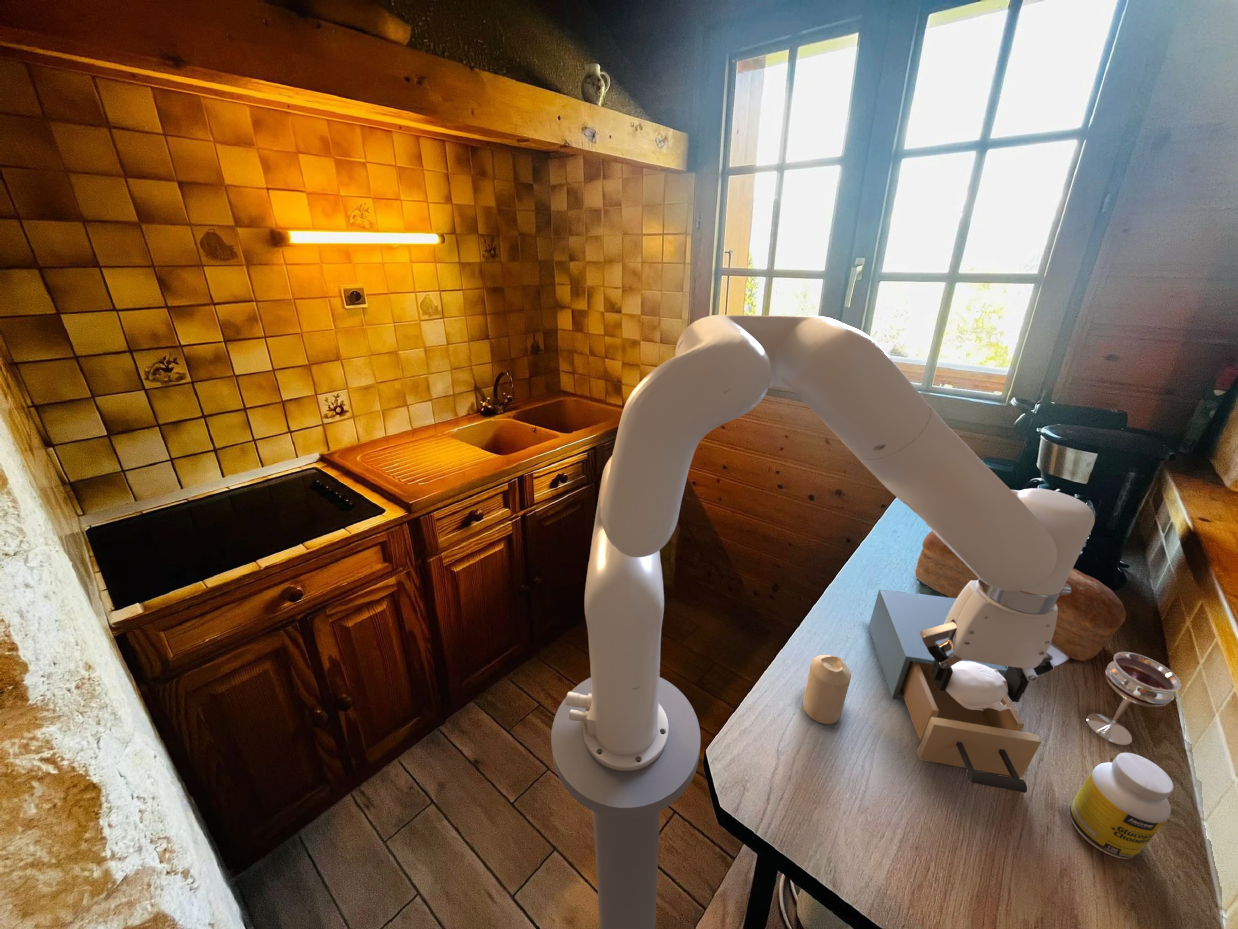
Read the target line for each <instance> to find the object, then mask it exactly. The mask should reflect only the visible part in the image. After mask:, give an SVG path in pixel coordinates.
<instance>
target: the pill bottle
mask: <svg viewBox="0 0 1238 929" xmlns="http://www.w3.org/2000/svg"><path fill="white" fill-rule="evenodd" d="M1174 788H1175V787H1174V783H1173V781H1172V779H1171V777H1170V776H1169V775H1168V773H1166V771H1165V770H1164V769H1162V768H1161V767H1160V766H1159V765H1157V764H1156V763H1154V762H1153V761H1151V760H1149V759H1147V758H1145V757H1143V756H1141V755H1139V754H1135V753H1133V752H1132V753H1131V752H1121V753H1118V754H1117V756H1116V757H1115V758H1114V759H1113V760H1112V761H1109V762H1103V763H1099V764H1098V765H1096V766H1095V767H1094V768H1093V770H1092V771H1091V772H1090V774H1089V775H1088V777H1087V778H1086V780H1085V782H1084V783H1083V784H1082V786H1081V788H1080V789H1079V791H1078V792H1077V794H1076V795H1075V797H1074V799H1073V800H1072V802H1071V803H1070V805H1069V809H1068V813H1069V818H1070V820H1071V823H1072V825H1073V826H1074V828H1075V829H1076V830H1077V832H1078V833H1079V834H1080V835H1081V836H1082V838H1084V839H1085V840H1086V841H1087V842H1088V843H1089V844H1091V845H1092V846H1093V847H1094V848H1096V849H1098V850H1099V851H1101V852H1103V853H1105V854H1107V855H1109V856H1112V857H1114V858H1117V859H1124V860H1127V859H1129V860H1130V859H1133V858H1136V857H1137V856H1138V855H1139V854H1140V853H1141V852H1142V850H1143V849H1144V848H1145V847H1146V846H1147V844H1148V843H1150V841H1151V840H1152V838H1153V837H1154V836H1155V835H1156V834H1157V832H1158V831H1159V830H1160V829H1161V827H1162V826H1163V825H1165V823H1166V822H1167V820H1168V819H1169V818H1170V816H1171V811H1172V810H1171V809H1172V808H1171V805H1170V804H1171V803H1170V802H1169V799H1168V798H1170V796H1171V794H1172V793H1173V791H1174Z"/></svg>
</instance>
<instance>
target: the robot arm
mask: <svg viewBox="0 0 1238 929" xmlns="http://www.w3.org/2000/svg"><path fill="white" fill-rule="evenodd" d="M785 388H787V389H789V388H790V389H791V390H792V391H793V392H794V393H795V394H796V395H797V396H798V397H799V398H800V399H801V400H802V401H803V403H805V405H806V406H807V407H808V408H809V409H810V410H811V411H812V412H813V413H814V414H815V415H816V416H817V417H818V418H819V420H820V421H821V422H823V423H824V425H825V426H826V427H827V428H828V429H829V430H830V431H831V432H832V433H833V434H834V435H835V436H836V437H837V439H839V440H840V441H841V443H843V445H844V446H845V447H846V448H847V449H848V450H849V451H850V452H851V453H852V454H853V455H854V456H855V457H856V458H857V459H858V460H859V461H860V462H861V464H862V465H863V466H864V467H865V468H866V469H867V470H868V471H869V472H870V473H871V474H872V475H873V477H875V478H876V479H877V480H878V481H879V483H881V485H883V486H884V487H885V489H887V491H889V492H890V493H891V494H892V495H894V497H896V498H897V499H898V500H899V501H901V502H902V503H903V504H904V505H905V506H907V507H908V509H910V510H912V512H913V513H915V514H916V515H917V516H919V518H920V519H922V520H923V522H925V524H926V525H927V527H928V528H929V529H930V530H931V531H932V532H933V533H934V534H935V535H936V536H937V537H938V538H939V539H940V540H941V541H942V542H943V543H944V544H945V545H946V546H947V547H948V548H949V549H951V550H952V551H953V552H954V553H955V554H956V555H957V556H958V557H959V558H960V559H961V560H962V561H963V562H964V563H965V564H966V565H967V566H968V567H969V569H970V570H971V571H972V572H973V573H974V574H975V575H976V576H977V577H978V578H979V579H978V580H971V581H970V582H969V583H968V584H967V585H966V586H965V587H964V589H963V590H962V591H961V593H960V594H959V596H958V597H957V599H956V600H955V602H954V604H953V606H952V608H951V610H950V611H949V613H948V616H947V618H946V620H945V622H944V624H943V625H939V626H936V627H932V628H929V629H925V630H922V631H920V636H921V638H922V640H923V642H924V644H925V646H926V647H927V649H928V651H929V653H930V654H931V655H932V657H933V658H934V662H933V664H932V667H931V670H930V674H931V677H932V679H933V680H935V682H936V684H937V687H938V689H939V690H942V691H944V690H946V688H947V685H948V683H949V681H950V678H951V676H952V673H953V670H952V668H951V666H952V665H954V664H956V663H957V662H959V661H961V660H963V659H965V660H970V661H975V662H982V663H988V664H995V665H1002V666H1005V667H1007V668H1006V669H1007V671H1006V673H1005V675H1004V678H1005V680H1006V682H1007V685H1008V693H1007V696H1008V698H1009V699H1010V701H1011V702H1013V703H1019V702H1020V700H1021V698H1022V696H1023V694H1024V693H1025V692H1026V689H1027V688H1028V686H1029V684H1030V682H1036V681H1038V680H1039V677H1038V676H1041V675H1043V674H1046V673H1049V672H1051V671H1053V670H1054V667H1058V666H1060V665H1061V664H1063V663H1065V662H1067V661H1069V659H1070V657H1068V656H1067V655H1066V653H1065V652H1064V651H1063V650H1062V649H1061V648H1060V647H1058V646H1057V645H1056V644H1054V643H1053V642H1051V640H1052V638H1053V634H1054V631H1055V627H1056V621H1057V612H1058V607H1057V605H1056V602H1057V600H1058V598H1059V596H1060V595H1070V594H1071V586H1070V585H1069V584H1065V583H1066V581H1067V579H1068V577H1069V575H1070V573H1071V571H1072V569H1073V568H1074V567H1075V565H1076V562H1077V560H1078V559H1079V557H1080V555H1081V552H1082V550H1083V549H1084V546H1085V544H1086V543H1087V540H1088V538H1089V536H1090V534H1091V532H1092V530H1093V527H1094V525H1095V520H1096V518H1095V513H1094V511H1093V509H1092V508H1091V506H1089V505H1088V504H1086V503H1085V502H1084V501H1082V500H1080V499H1078V498H1077V497H1075V496H1072V495H1069V494H1066V493H1063V492H1060V491H1056V490H1052V489H1046V488H1037V487H1034V488H1033V487H1031V488H1024V489H1021V490H1017V489H1011V488H1010V487H1009V486H1008V485H1006V484H1005V482H1004V481H1003V480H1002V479H1001V478H1000V477H998V475H997V474H996V473H995V472H993V470H992V469H991V468H990V467H989V466H988V465H987V464H986V463H985V462H984V461H983V460H982V459H981V458H980V457H979V456H978V455H977V454H976V453H975V452H974V450H972V448H971V447H970V446H969V445H968V444H967V443H966V442H965V440H963V439H962V437H960V435H958V434H957V433H956V432H955V431H954V430H953V429H952V428H951V427H950V426H949V424H947V423H946V421H945V420H944V419H943V418H942V417H941V416H940V415H939V414H938V413H937V411H936V410H935V409H934V408H933V407H932V406H931V404H930V403H929V402H928V401H927V400H926V399H925V398H924V397H923V395H922V394H921V392H919V391H918V389H917V388H916V387H915V386H914V384H913V383H912V382H911V381H910V380H909V379H908V377H907V376H906V375H905V373H903V371H902V370H901V369H900V367H899V366H898V365H897V364H896V363H895V362H894V361H893V360H892V358H891V357H890V356H889V355H888V354H887V353H886V351H885V350H884V349H883V348H882V346H881V345H880V344H879V343H877V342H876V341H875V340H874V339H873V338H872V337H871V336H869V335H868V334H867V333H865V332H863V331H861V330H860V329H857V328H855V327H853V326H850V325H848V324H846V323H844V322H841V321H839V320H836V319H833V318H831V317H826V316H819V315H758V314H757V315H755V314H754V315H753V314H713V315H708V316H704V317H701V318H699V319H696V320H694V321H693V322H692V323H690V324H689V325H688V326H687V327H686V328H685V329H684V330H683V332H682V333H681V334H680V336H679V338H678V340H677V343H676V347H675V352H674V356H673V357H671V358H669V359H666V361H664V362H662V363H661V364H659V365H658V366H656V367H655V368H654V369H652V370H651V371H650V372H649V373H648V374H647V375H646V376H645V377H643V378H642V380H640V382H638V383H637V385H636V386H635V387H634V388H633V389H632V392H631V393H630V394H629V396H628V398H627V399H626V402H625V404H624V407H623V409H622V413H621V416H620V420H619V424H618V428H617V431H616V432H617V433H616V437H615V441H614V447H613V451H612V455H611V456H610V457H609V459H608V461H607V462H606V463H605V466H604V468H603V470H602V475H601V481H600V487H599V491H598V492H599V493H598V499H597V506H596V512H595V518H594V525H593V532H592V537H591V545H590V553H589V561H588V563H587V564H588V565H587V573H586V578H585V579H586V580H585V581H586V582H585V587H584V588H585V589H584V604H583V605H584V616H585V622H586V629H587V637H588V639H587V640H588V655H589V665H590V677H591V688H592V694H590V693H589V694H588V696H587V695H581V694H580V693H574V692H571V691H568V692H567V694H566V696H565V698H566V705H567V706H573V707H582V708H586V712H581V711H578V710H573V709H571V710H570V713H569V720H574V721H582V722H584V723H583V735H584V741H585V744H586V747H587V749H588V750H589V752H590V753H591V755H592V756H593V757H594V758H595V759H596V760H597V761H598V762H600V763H601V764H602V765H604V766H606V767H608V768H611V769H614V770H619V771H633V770H638V769H641V768H643V767H646V766H648V765H649V764H651V763H652V762H654V761H655V760H656V759H657V758H658V757H659V756H660V754H661V753H662V752H663V750H664V748H665V746H666V743H667V739H668V728H669V727H668V720H667V717H666V714H665V712H664V710H663V708H662V707H661V705H660V704H659V677H660V675H661V672H660V670H661V644H662V643H661V641H662V628H663V627H662V626H663V620H664V612H665V593H664V592H665V591H664V579H663V570H662V563H661V562H662V561H661V551H660V550H662V549H663V548H664V547H665V546H666V545H667V543H669V541H670V540H671V538H672V536H673V534H674V532H675V530H676V528H677V525H678V521H679V516H680V510H681V505H682V502H683V496H684V492H685V487H686V484H687V479H688V474H689V471H690V468H691V465H692V461H693V459H694V455H695V452H696V449H697V447H698V445H699V444H700V442H701V441H702V440H703V439H704V437H705V436H706V435H707V434H709V433H710V432H712V431H713V430H715V429H717V428H718V427H720V426H722V425H724V424H727V423H730V422H732V421H734V420H737V419H739V418H741V417H743V416H746V415H747V414H748V413H750V412H751V411H752V410H754V409H755V408H756V407H757V406H758V405H759V404H760V403H761V402H762V400H763V399H764V398H765V397H766V395H767V393H768V391H769V389H785ZM946 638H949V639H947V640H946V641H944V642H942V643H941V644H939V645H938V644H937V643H936V642H937V641H939V640H942V639H946ZM951 649H952V650H953V653H951V654H949V655H948V656H947V654H946V653H947V652H948V651H950V650H951Z"/></svg>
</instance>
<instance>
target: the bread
mask: <svg viewBox="0 0 1238 929" xmlns="http://www.w3.org/2000/svg"><path fill="white" fill-rule="evenodd" d="M915 577H916V578H917V579H918V580H919V581H920V582H921V583H923V584H924V585H926V586H927V587H929V588H931V589H932V590H933V591H935V592H937V593H940V594H942V595H943V596H945V597H948V598H956V599H957V597H958V596H959V594H960V593H961V591H962V590H963V589H964V587H965V586H966V585H967V584H968V583H969V582H970V581H971V580H978V579H979V578H978V577H977V576H976V575H975V574H974V573H973V572H972V571H971V570H970V569H969V567H968V566H967V565H966V564H965V563H964V562H963V561H962V560H961V559H960V558H959V557H958V556H957V555H956V554H955V553H954V552H953V551H952V550H951V549H949V548H948V547H947V546H946V545H945V544H944V543H943V542H942V541H941V540H940V539H939V538H938V537H937V536H936V535H935V534H934V533H933V532H932V530H931V531H930V532H929V533H928V534H926V536H925V538H924V539H923V541H922V549H921V551H920V554H919V557H918V558H917V564H916V568H915ZM1065 584H1069V585H1070V586H1071V594H1070V595H1060V596H1059V598H1058V600H1057V602H1056V605H1057V607H1058V612H1057V621H1056V627H1055V631H1054V634H1053V638H1052V640H1051V642H1053V643H1054V644H1056V645H1057V646H1058V647H1060V648H1061V649H1062V650H1063V651H1064V652H1065V653H1066V655H1067V656H1068V657H1069V659H1070V658H1071V659H1073V660H1076V661H1079V662H1081V661H1090V660H1092V659H1094V658H1095V657H1096V656H1097V655H1098V654H1099V653H1100V651H1101V650H1102V649H1103V648H1104V647H1105V646H1106V645H1107V644H1108V642H1110V640H1111V639H1112V637H1113V635H1115V634H1116V632H1118V630H1119V628H1121V626H1122V625H1123V624H1124V623H1125V621H1126V617H1127V611H1126V609H1125V607H1124V604H1123V602H1122V601H1121V600H1120V598H1119V597H1118V596H1117V595H1116V593H1115V592H1114V591H1113V590H1112V589H1111V588H1109V587H1108V586H1106V585H1105V584H1103V583H1102V582H1101V581H1099V580H1098V579H1096V578H1094V577H1092V576H1090V575H1088V574H1085V573H1084V572H1082V571H1080V570H1078V569H1077V568H1074V567H1073V569H1072V571H1071V573H1070V575H1069V577H1068V579H1067V581H1066V583H1065Z"/></svg>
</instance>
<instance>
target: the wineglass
mask: <svg viewBox="0 0 1238 929" xmlns="http://www.w3.org/2000/svg"><path fill="white" fill-rule="evenodd" d="M1112 658H1113V660H1112V661H1111V662H1109V663H1108V664H1107V666H1106V667H1105V679H1106V681H1107V683H1108V684H1109V686H1110V687H1111V688H1112V690H1113V691H1114V692H1115V693H1116V695H1118V696H1119V697H1120V698H1121V699H1122V700H1121V701H1120V704H1119V706H1118V708H1117V710H1116V711H1115V713H1114V715H1113V717H1112V718H1111V717H1109V716H1106V715H1103V714H1099V713H1090V714H1088V715H1087V718H1086V721H1087V722H1086V723H1087V724H1088V726H1089V727H1090V728H1091V730H1092V731H1094V732H1095V733H1096V734H1097V735H1098V736H1100V737H1102V738H1103V739H1104V740H1107V741H1109V742H1110V743H1113V744H1117V745H1121V746H1126V745H1130V744H1131V743H1132V742H1133V736H1132V734H1131V733H1130V732H1129V731H1128V729H1127V728H1126V727H1125V726H1124V725H1122V724H1121V723H1120V722H1118V720H1119V719H1120V718H1121V716H1122V715H1123V714H1124V712H1125V711H1126V710H1127V709H1128V707H1129V706H1130V704H1134V705H1136V706H1140V707H1147V708H1161V707H1163V706H1167V705H1168V704H1170V703H1171V702H1172V701H1173V700H1174V699H1175V696H1176V692H1177V691H1178V690H1181V686H1182V683H1181V680H1180V679H1179V677H1178V676H1177V675H1176V674H1175V673H1174V672H1173V671H1172V670H1171V669H1169V668H1168V667H1166V666H1165V665H1163V664H1161V663H1160V662H1158V661H1156V660H1154V659H1152V658H1149V657H1147V656H1145V655H1142V654H1139V653H1135V652H1129V651H1120V652H1117V653H1115V654H1114V655H1113V657H1112Z"/></svg>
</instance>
